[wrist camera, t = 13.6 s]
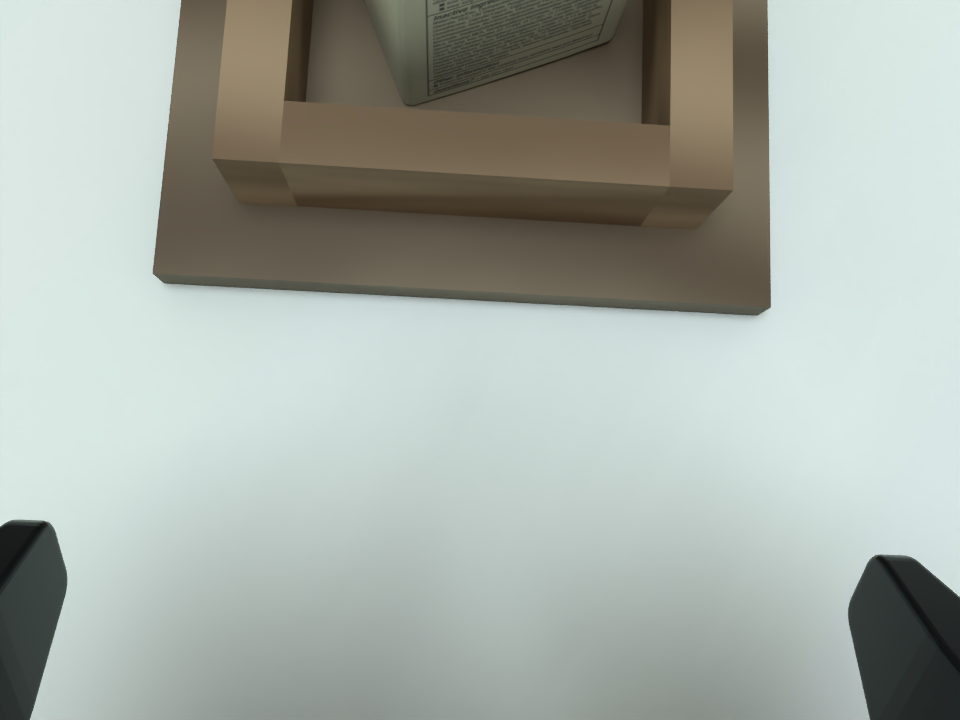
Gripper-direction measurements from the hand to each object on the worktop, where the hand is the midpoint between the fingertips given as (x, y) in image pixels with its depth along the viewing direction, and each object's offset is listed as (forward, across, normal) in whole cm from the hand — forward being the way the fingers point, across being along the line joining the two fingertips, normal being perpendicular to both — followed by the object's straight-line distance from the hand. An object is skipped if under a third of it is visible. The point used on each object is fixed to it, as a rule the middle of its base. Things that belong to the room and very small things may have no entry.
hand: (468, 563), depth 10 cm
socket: (+20, 0, 0) cm, 20 cm away
